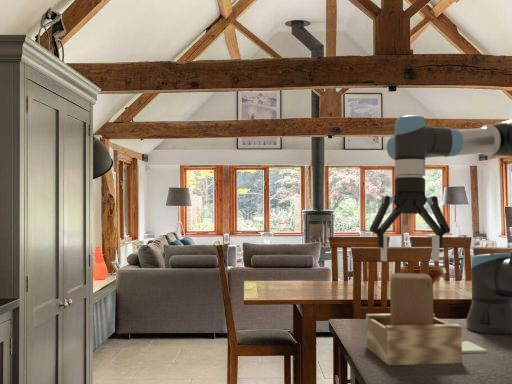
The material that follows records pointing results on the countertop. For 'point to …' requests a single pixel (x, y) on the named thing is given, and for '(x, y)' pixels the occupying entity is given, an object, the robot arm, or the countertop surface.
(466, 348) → the mat
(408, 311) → the wooden block
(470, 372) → the countertop surface
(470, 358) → the countertop surface
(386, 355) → the crate
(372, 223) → the robot arm
